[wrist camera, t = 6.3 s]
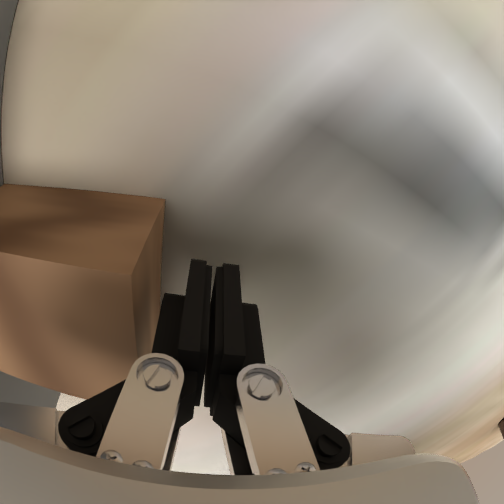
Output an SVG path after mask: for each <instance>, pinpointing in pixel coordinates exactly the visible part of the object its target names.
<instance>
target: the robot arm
mask: <svg viewBox="0 0 504 504" xmlns="http://www.w3.org/2000/svg"><path fill="white" fill-rule="evenodd" d="M206 264H207V261H203V260H196V259H191V264H190V270H189V276H188V282H187V289H186V295H185V296H183V295H176V294H169V293H165V294H164V297H163V301H162V306H161V310H160V314H159V319H158V323H157V328H156V333H155V337H154V342H153V347H152V352H151V353H150V354H146V355H144V356H141V357H140V358H138V359H137V360H136V361H135V362H134V364H133V365H132V367H131V369H130V372H129V374H128V376H127V379H125V380H123V381H121V382H120V383H118V384H116V385H114V386H112V387H110V388H108V389H106V390H105V391H103V392H101V393H99V394H97V395H95V396H93V397H91V398H89V399H87V400H85V401H83V402H81V403H79V404H77V405H75V406H73V407H71V408H70V409H68V410H67V411H57V409H56V408H49V407H39V406H30V405H22V404H15V403H8V402H0V504H480V503H479V500H478V498H477V494H476V492H475V489H474V487H473V484H472V482H471V480H470V478H469V476H468V474H467V472H466V471H465V469H464V468H463V466H462V465H461V464H460V463H459V462H457V461H456V460H454V459H452V458H449V457H446V456H442V455H436V454H415V450H414V447H413V444H412V443H411V442H410V440H408V439H407V438H405V437H402V436H394V435H374V434H361V433H351V434H350V435H344V434H343V433H342V432H341V431H340V430H338V429H337V428H335V427H334V426H332V425H331V424H330V423H328V422H327V421H325V420H324V419H322V418H321V417H319V416H318V415H316V414H315V413H314V412H312V411H311V410H309V409H308V408H307V407H305V406H304V405H302V404H301V403H300V402H298V401H297V400H295V399H294V398H293V396H292V393H291V390H290V387H289V385H288V382H287V380H286V378H285V376H284V375H283V374H282V373H281V372H280V371H279V370H278V369H276V368H274V367H272V366H269V365H266V364H265V358H264V350H263V343H262V335H261V328H260V321H259V313H258V307H257V305H256V304H248V303H242V299H241V285H240V271H239V265H233V264H226V263H223V266H222V267H217V268H216V273H215V279H214V285H213V291H212V297H211V281H212V266H209V265H206ZM210 299H211V303H210ZM204 375H205V386H204V407H210V416H213V421H214V422H215V423H217V424H218V425H219V426H220V427H221V433H222V438H223V442H224V447H225V452H226V456H227V461H228V465H229V470H230V474H231V475H212V474H196V473H185V472H175V471H171V469H172V465H173V460H174V456H175V452H176V447H177V443H178V439H179V435H180V431H181V426H183V425H184V424H185V423H187V422H188V421H190V420H191V419H192V418H193V412H194V406H199V405H200V399H201V393H202V387H203V381H204Z"/></svg>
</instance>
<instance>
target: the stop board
mask: <svg viewBox="0 0 504 504" xmlns="http://www.w3.org/2000/svg"><path fill="white" fill-rule="evenodd" d="M17 3H18V0H0V186H2V185H3V173H2V159H1V102H2V87H3V77H4V68H5V61H6V54H7V48H8V42H9V37H10V32H11V27H12V22H13V18H14V14H15V10H16V6H17ZM60 393H61V392H58V391H55V390H51V389H48V388H45V387H42V386H39V385H36V384H33V383H30V382H28V381H25V380H22V379H19V378H17V377H14V376H11V375H9V374H6V373H4V372H2V371H0V402H8V403H15V404H22V405H30V406H39V407H49V408H56V405H57V402H58V399H59V396H60Z"/></svg>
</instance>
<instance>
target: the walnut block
mask: <svg viewBox="0 0 504 504" xmlns="http://www.w3.org/2000/svg"><path fill="white" fill-rule="evenodd" d="M164 210H165V199H160V198H152V197H144V196H135V195H126V194H117V193H108V192H98V191H88V190H77V189H66V188H54V187H42V186H28V185H13V184H3V185H2V186H0V371H2V372H4V373H6V374H9V375H11V376H14V377H17V378H19V379H22V380H25V381H28V382H30V383H33V384H36V385H39V386H42V387H45V388H48V389H51V390H55V391H58V392H61V393H65V394H68V395H72V396H76V397H79V398H83V399H89V398H91V397H93V396H95V395H97V394H99V393H101V392H103V391H105V390H106V389H108V388H110V387H112V386H114V385H116V384H118V383H120V382H121V381H123V380H125V379H127V376H128V374H129V372H130V369H131V367H132V365H133V364H134V362H135V361H136V360H137V359H138V358H140V357H141V356H144V355H146V354H150V353H151V352H152V347H153V342H154V337H155V333H156V328H157V323H158V319H159V314H160V288H161V259H162V239H163V224H164Z"/></svg>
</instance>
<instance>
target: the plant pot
mask: <svg viewBox="0 0 504 504" xmlns="http://www.w3.org/2000/svg"><path fill="white" fill-rule="evenodd" d="M499 428H500V431H501V433H502V436H503V439H504V419H503V420H502V421H501V422H500V423H499Z"/></svg>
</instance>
